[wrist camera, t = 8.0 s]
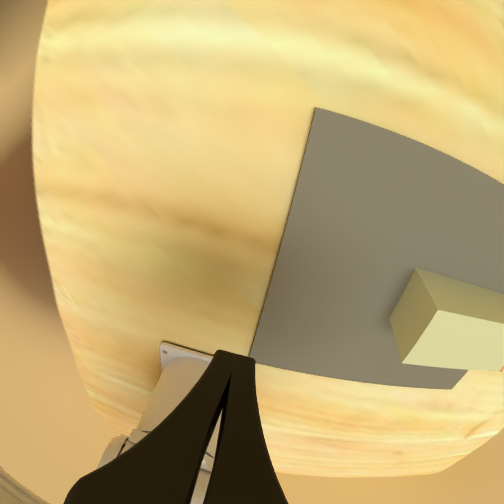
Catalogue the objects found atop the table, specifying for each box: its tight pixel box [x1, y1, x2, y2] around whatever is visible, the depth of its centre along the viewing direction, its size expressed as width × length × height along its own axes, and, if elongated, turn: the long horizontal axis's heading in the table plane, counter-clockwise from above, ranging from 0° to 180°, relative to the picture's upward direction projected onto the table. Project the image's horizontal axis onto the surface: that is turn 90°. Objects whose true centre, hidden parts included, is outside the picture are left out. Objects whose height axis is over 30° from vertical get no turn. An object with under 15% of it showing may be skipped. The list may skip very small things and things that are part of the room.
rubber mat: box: [249, 107, 504, 389], centre depth 19 cm, size 20×22×1 cm
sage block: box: [389, 268, 504, 372], centre depth 17 cm, size 4×4×11 cm
